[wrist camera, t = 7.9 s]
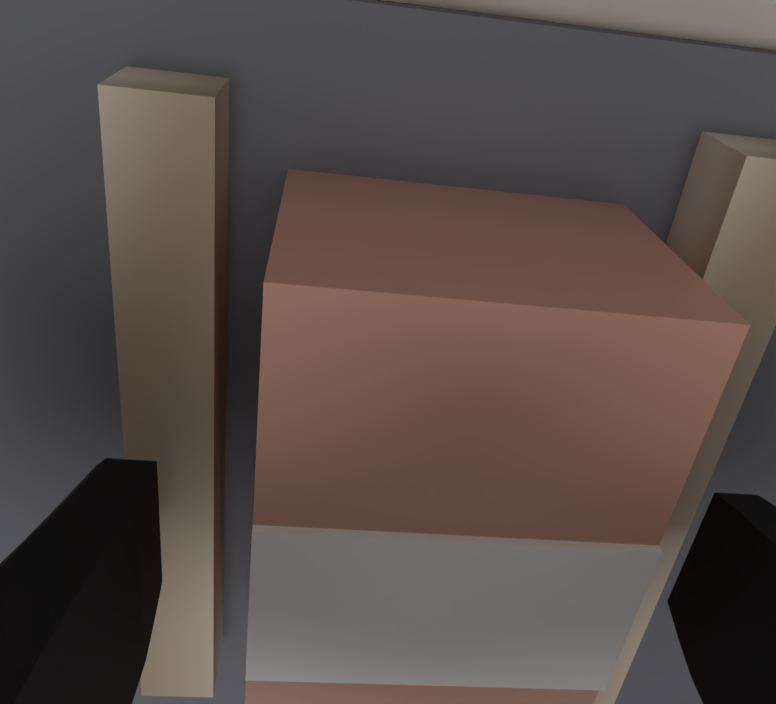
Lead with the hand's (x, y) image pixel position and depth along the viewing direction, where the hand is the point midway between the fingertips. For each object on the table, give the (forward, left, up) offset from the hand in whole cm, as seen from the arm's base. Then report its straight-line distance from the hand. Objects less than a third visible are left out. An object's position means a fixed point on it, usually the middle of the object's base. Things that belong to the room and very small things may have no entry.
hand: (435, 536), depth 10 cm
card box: (0, 0, -2) cm, 2 cm away
